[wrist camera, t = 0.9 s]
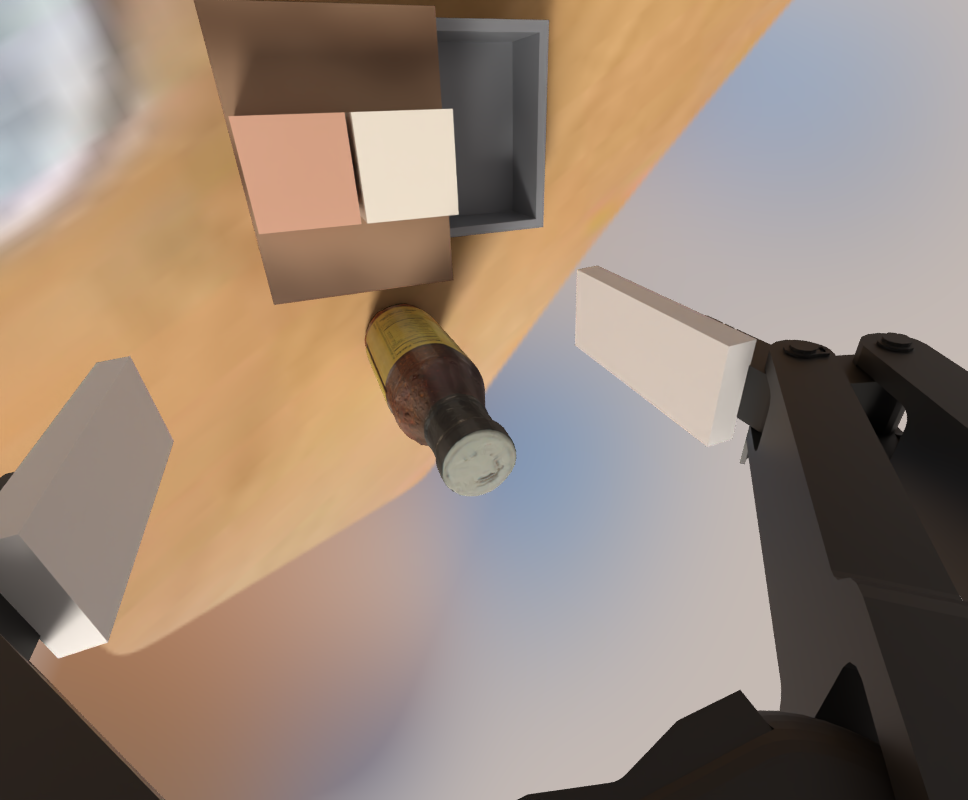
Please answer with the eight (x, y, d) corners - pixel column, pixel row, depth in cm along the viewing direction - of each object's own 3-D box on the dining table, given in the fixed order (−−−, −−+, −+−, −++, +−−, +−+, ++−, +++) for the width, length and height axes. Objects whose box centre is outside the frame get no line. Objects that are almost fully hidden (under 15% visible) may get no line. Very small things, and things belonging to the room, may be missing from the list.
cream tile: (343, 113, 25) (350, 112, 23) (436, 110, 27) (452, 108, 24) (359, 214, 28) (367, 223, 25) (443, 207, 29) (458, 214, 27)
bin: (337, 29, 30) (347, 15, 26) (517, 32, 33) (548, 20, 29) (368, 232, 36) (379, 245, 32) (516, 216, 39) (543, 227, 35)
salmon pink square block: (233, 116, 24) (228, 116, 21) (338, 113, 25) (344, 112, 23) (260, 223, 26) (258, 234, 24) (354, 215, 28) (361, 224, 25)
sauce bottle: (430, 370, 43) (521, 519, 27) (359, 368, 41) (412, 530, 24) (441, 299, 40) (550, 416, 24) (365, 292, 38) (430, 418, 22)
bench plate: (213, 28, 28) (193, -2, 21) (402, 30, 31) (435, 6, 24) (274, 270, 35) (274, 304, 28) (423, 253, 38) (453, 280, 31)
